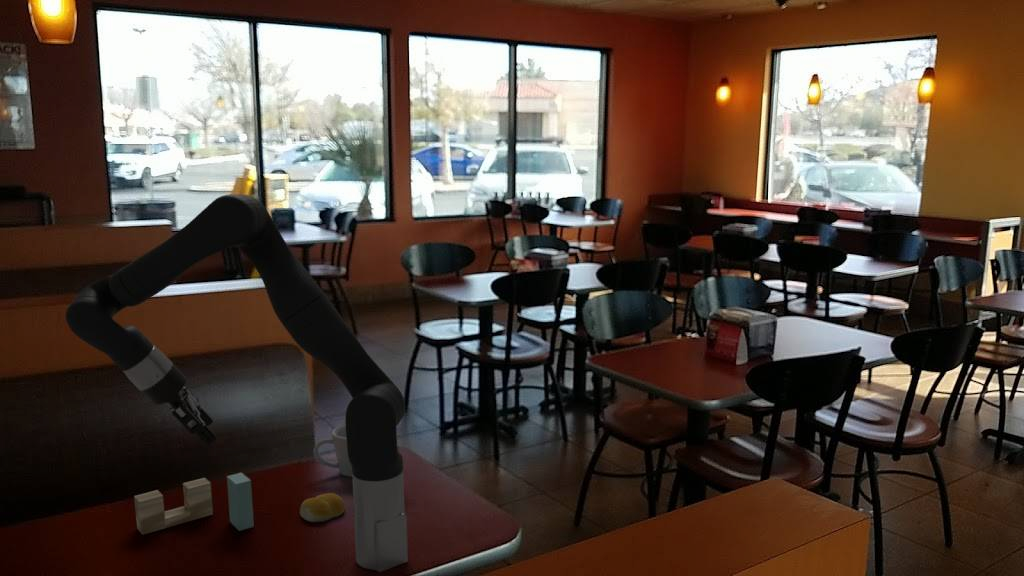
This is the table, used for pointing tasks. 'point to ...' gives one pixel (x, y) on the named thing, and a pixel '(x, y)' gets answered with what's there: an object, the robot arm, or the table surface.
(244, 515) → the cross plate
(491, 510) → the table surface
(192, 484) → the slot plate
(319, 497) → the bread roll
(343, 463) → the mug
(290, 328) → the robot arm
